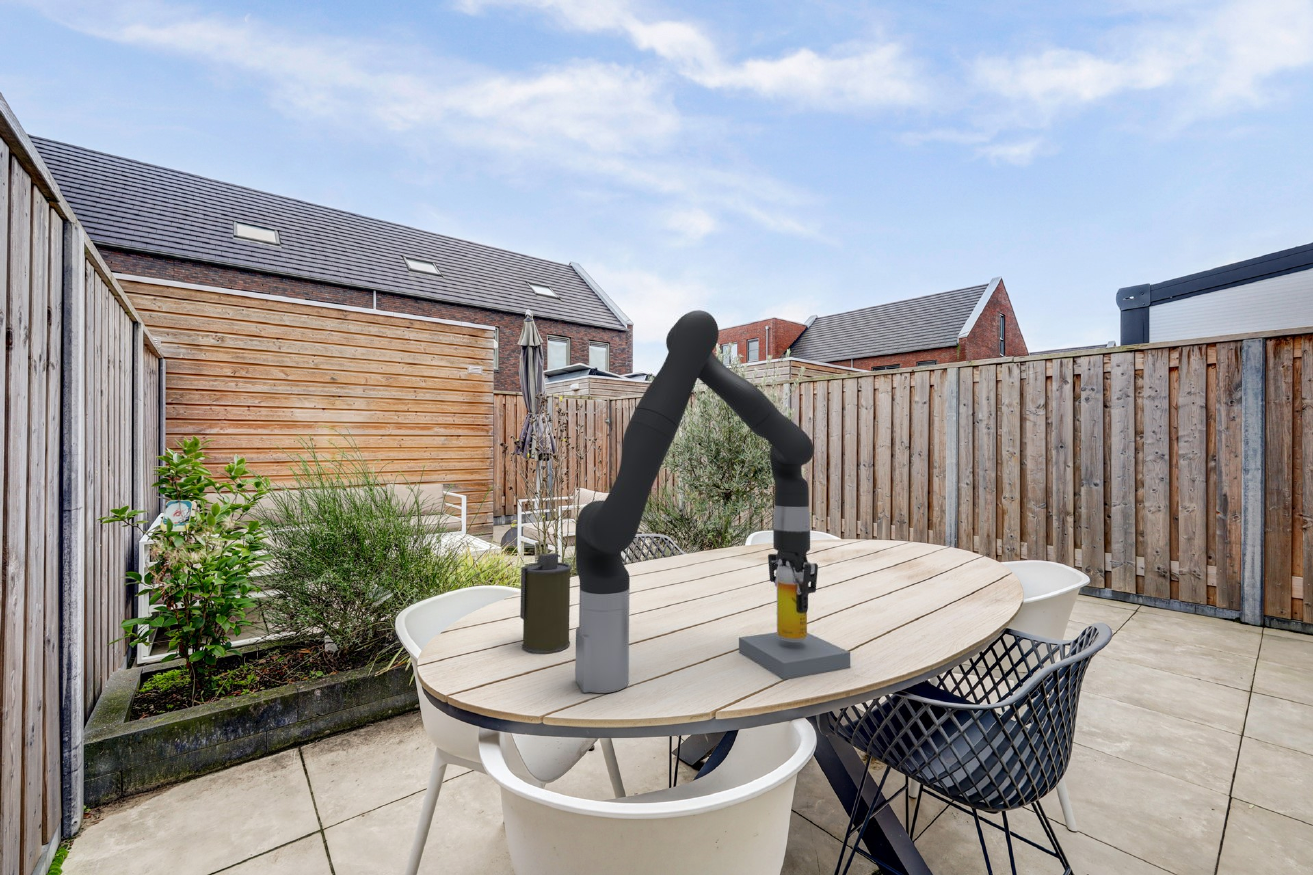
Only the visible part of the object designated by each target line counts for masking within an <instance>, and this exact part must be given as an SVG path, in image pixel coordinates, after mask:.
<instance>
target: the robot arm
mask: <svg viewBox="0 0 1313 875" xmlns="http://www.w3.org/2000/svg"><path fill="white" fill-rule="evenodd" d="M719 331H720V330H719V326H718V323H717V321H716V319H715V318H714V316H713V315H712V314H711V313H709V312H707V311H705V310H701V309H698V310H692V311H691V310H690V312H689V311H688V312H687V313H685V314H684V315H682V316H681V317H680V318H679V319H678V320H677V321H676V323H674V325H673V326H672V327H671V328H670V330H669V331H668V333H667V336H666V341H665V345H666V349H667V351H668V353H667V356H666V357H665V359H664V361H663V364H662V366H661V368H660V369H659V371H658V373H657V374H656V375H655V377H654V378H653V379H652V380H651V382H650V384H649V386H647V388H646V390H645V391H644V392H643V395H642V396H641V398H640V400H639V402H638V403H637V405H636V406H635V409H634V411H633V413H632V415H631V417H630V420H629V422H628V424H627V426H626V427H625V431H624V435H623V440H622V445H621V446H622V447H621V458H620V465H619V469H618V473H617V475H616V478H615V481H614V482H613V485H612V487H611V489H610V491H609V493H607V496H606V498H605V500H595V501H594V500H593V501H591V502H589V503H587V504H585V505H584V507H583V508H582V509H581V511H580V512H579V514H578V516H577V519H576V525H575V565H576V566H575V567H576V572H577V575H578V580H579V602H578V603H579V606H578V608H579V610H578V611H579V612H578V618H579V619H578V620H579V621H578V627H577V628H575V660H574V661H575V662H574V663H575V664H574V666H575V670H574V671H575V672H574V674H575V675H574V680H575V682H576V684H577V686H579V688H580V690H581V692H582V693H596V694H607V693H614V692H617V691H620V690H622V689H623V690H624V689H625V688H626V687H627V686H628V685H629V681H630V680H629V679H630V678H629V677H630V676H629V675H630V674H629V673H630V667H629V664H630V585H631V584H630V574H629V571H628V570H627V568H626V565H625V564H624V561H623V558H622V552H624V551H625V550H627V549H628V548H629V547H630V546H631V545H632V543H633V541H635V538H636V535H637V533H638V531H639V528H640V525H641V521H642V519H643V517H644V516H643V514H644V512H645V509H646V506H647V502H648V499H649V496H650V493H651V490H652V488H653V486H654V483H655V481H656V479H657V477H658V475H659V472H660V470H661V468H662V465H663V462H664V460H665V458H666V456H667V454H668V451H669V450H670V448H671V445H672V443H673V441H674V438H675V437H676V434H677V432H678V430H679V427H680V424H681V421H682V419H683V416H684V414H685V413H686V412H685V411H686V409H687V406H688V403H689V402H690V398H691V395H692V393H693V390H694V387H695V384H696V382H697V380H700V381H701V382H702V383H704V384H705V386H707V387H708V388H709V389H710V390H711V391H712V392H714V393H715V394H716V395H717V396H718V397H719V398H720V399H721V400H722V401H723V402H724V403H725V404H726V405H727V406H728V407H729V408H731V410H732V412H734V413H735V414H736V415H737V416H738V417H739V419H741V421H742V422H743V423H744V424H745V425H746V426H747V427H748V428H749V429H750V430H751V431H752V433H753V434H755V435H756V436H758V437H760V438H762V439H764V440H766V441H767V442H768V443H769V444H770V447H769V448H770V449H769V450H770V452H769V462H770V467H771V473H772V478H773V482H774V509H773V517H772V518H773V519H772V520H773V529H772V530H773V533H772V534H773V538H772V541H773V549H774V550H775V551H777V553H768V556H767V559H768V560H767V561H768V571H769V582H771V583H774V586H775V587H776V588H777V568H778V566H779V565H780V566H787V567H789V568H790V569H791V570H792V573H793V583H795V584H796V591H797V594H796V610H797V612H798V613H806V612H807V613H808V610H809V595H810V594H813V593H814V594H815V593H816V591H817V581H818V573H819V572H818V570H819V565H818V564H817V563H813V562H812V563H811V562H810V561H809V560H808V558H807V553H808V552H809V551H810V550H811V514H810V508H809V506H810V497H809V496H810V490H809V483H808V480H806V479H805V478H804V476H803V474H802V466H804V465H806V464H808V463H809V462H810V461H812V459H813V456H814V453H815V452H814V451H815V449H814V444H813V441H812V439H811V438H810V437H809V434H807V433H806V432H805V431H804V430H803V429H802V428H801V427H800V426H798V425H797V424H796V423H795V422H793V421H792V420H791V419H789V418H788V417H787V416H786V415H784V414H783V413H782V412H781V411H779V409H778V408H777V407H776V406H775V404H774V403H773V402H772V401H771V400H770V399H769V398H768V396H766V394H765V393H764V392H763V391H762V390H760V389H759V388H758V387H757V386H756V385H754V384H753V383H751V382H750V381H748V380H747V379H745V378H743V377H741V376H740V375H739V374H737V373H736V372H734V371H732V370H731V369H730V368H729V367H727V366H726V365H725V364H724V363H723V362H721V360H720V359H719V358H718V357H717V356H716V354H715V353H714V349H715V348H716V346H717V344H718V340H719V334H720V333H719ZM793 568H795V571H796V572H797V573H799V572H804V575H803V578H797V577H796V574H795V572H794V569H793ZM800 582H803V586H802V588H801V585H800ZM809 583H810V585H809Z"/></svg>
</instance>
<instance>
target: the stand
mask: <svg viewBox="0 0 1313 875" xmlns="http://www.w3.org/2000/svg"><path fill="white" fill-rule="evenodd" d="M738 652H739V654H742V655H743V656H745V657H747V658H748V659H750V660H752V661H753V662H755V663H757V664H758V665H760V666H761V667H763V668H765V669H766V670H768V671H769V672H771V673H772V674H774V675H776V676H777V677H779V678H781V679H782V680H784V681H785V680H789V679H794V678H796V679H797V678H799V677H806V676H811V675H817V674H818V675H819V674H823V673H827V672H833V671H839V670H844V669H845V670H846V669H850V668H851V651H848V650H846V649H845V648H841V647H840V646H838V645H836V644H833V643H831V642H829V641H826V640H824V639H822V638H820V637H818V636H815V635H814V634H811V633H808V632H807V637H806V638H805V639H804V641H801V642H788V641H784V640H782V639H780V638H779V636H778V634H777V631H776V632H769V633H761V634H753V635H748V636H740V637H738Z"/></svg>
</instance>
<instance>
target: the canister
mask: <svg viewBox="0 0 1313 875" xmlns="http://www.w3.org/2000/svg"><path fill="white" fill-rule="evenodd" d="M558 558H561V555H560V554H558V553H556V552H551V553H539V555H538V559H537V561H536V562H535V563H530V564H526V565H525V566H521V568H520V571H521V572H520V573H521V574H520V576H521V577H520V609H519V610H520V616H519V617H520V619H522V620H523V624H522V626H523V627H522V630H523V632H522V636H523V637H522V644H521V648H522V650H523V651H525V652H527V653H531V654H538V655H546V654H553V653H559V652H562V651H564V650H566V649H568V648H569V647H570V645H571V642H570V608H571V605H570V600H571V598H570V597H571V595H570V594H571V592H570V591H571V569H572V565H571V564H569V563H564V562H559V561H558Z"/></svg>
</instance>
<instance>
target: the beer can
mask: <svg viewBox="0 0 1313 875" xmlns="http://www.w3.org/2000/svg"><path fill="white" fill-rule="evenodd" d="M793 569H794V572H795V574H796V577H797V578H803V575H804V572H799V573H797V572H796V571H795V568H793ZM800 585H801V588H802V586H803V582H800ZM796 594H797V591H796V584H795V583H793V573H792V570H791V569H790V568H789V567H787V566H780V565H779V566H778V568H777V587H776V632H777V634H778V636H779V638H780V639H782V640H784V641H788V642H801V641H804V639H805V638H806V637H807V633H808V611H807V612H806V613H798V612H797V610H796Z"/></svg>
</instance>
